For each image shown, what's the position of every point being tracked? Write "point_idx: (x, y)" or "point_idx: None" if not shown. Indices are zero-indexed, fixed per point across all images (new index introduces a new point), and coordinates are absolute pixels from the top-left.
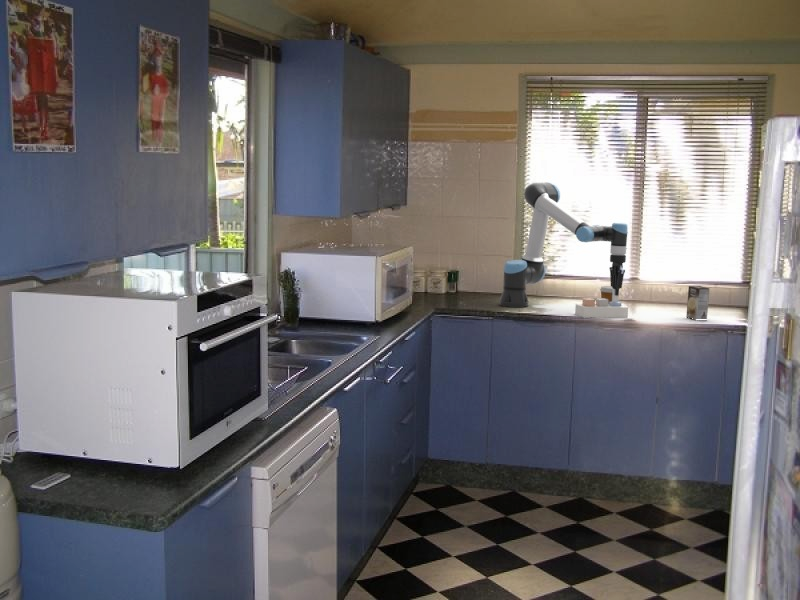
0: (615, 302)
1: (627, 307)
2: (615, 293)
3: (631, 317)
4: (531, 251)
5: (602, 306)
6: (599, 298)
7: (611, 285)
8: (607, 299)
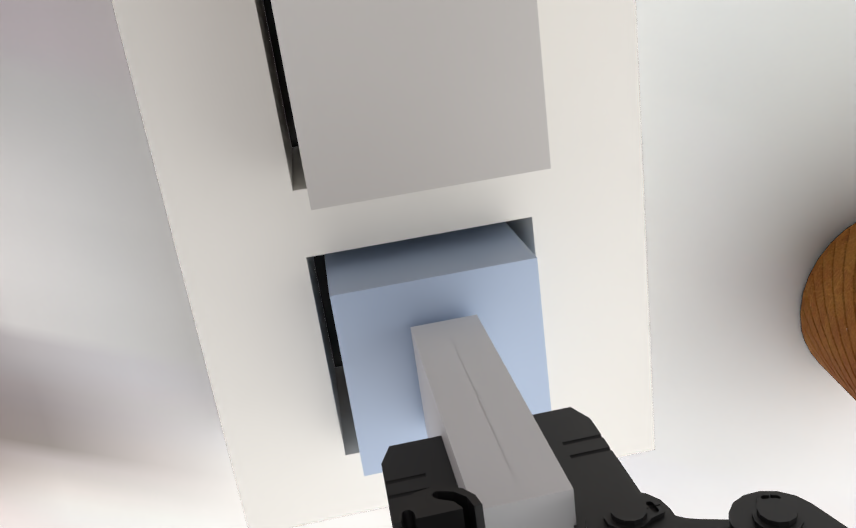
0: None
1: (246, 521)
2: (423, 470)
3: None
4: None
5: (261, 28)
6: (515, 14)
7: (748, 521)
8: (353, 194)
